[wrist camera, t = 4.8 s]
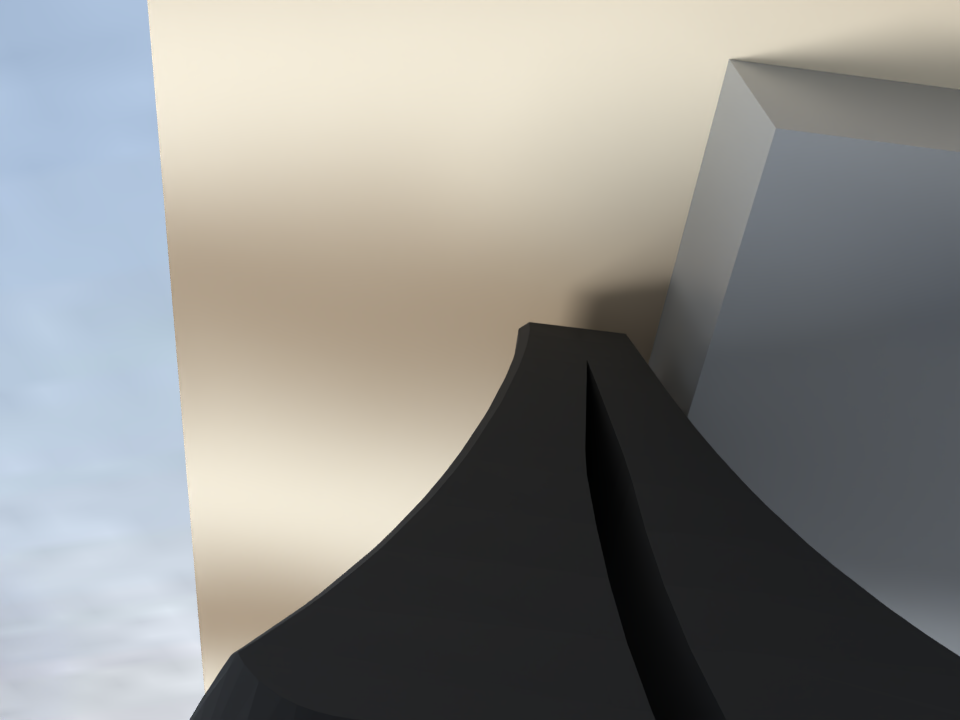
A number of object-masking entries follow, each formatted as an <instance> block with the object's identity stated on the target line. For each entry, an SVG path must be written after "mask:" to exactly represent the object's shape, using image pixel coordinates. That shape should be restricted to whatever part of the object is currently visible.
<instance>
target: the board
mask: <svg viewBox="0 0 960 720" xmlns="http://www.w3.org/2000/svg"><path fill="white" fill-rule="evenodd" d="M147 2H148V14H149V26H150V38H151V50H152V62H153V74H154V86H155V98H156V110H157V122H158V134H159V146H160V158H161V170H162V182H163V194H164V206H165V218H166V231H167V243H168V255H169V267H170V279H171V291H172V303H173V315H174V327H175V339H176V351H177V363H178V375H179V387H180V399H181V411H182V423H183V435H184V447H185V459H186V472H187V484H188V496H189V508H190V520H191V532H192V544H193V556H194V568H195V580H196V592H197V604H198V616H199V628H200V640H201V652H202V664H203V676H204V688H205V693H206V692H207V690H208V689H209V687H210V686H211V684H212V683H213V681H214V680H215V678H216V676H217V675H218V673H219V672H220V670H221V669H222V667H223V666H224V664H225V663H226V661H227V660H228V659H229V657H230V656H231V654H233V653H234V652H236V651H237V650H239V649H240V648H242V647H243V646H245V645H246V644H248V643H249V642H251V641H252V640H254V639H255V638H257V637H258V636H260V635H261V634H263V633H264V632H265V631H267V630H268V629H270V628H271V627H273V626H274V625H276V624H277V623H279V622H280V621H282V620H283V619H285V618H286V617H288V616H289V615H290V614H292V613H293V612H295V611H296V610H298V609H299V608H301V607H302V606H304V605H305V604H306V603H308V602H309V601H310V600H312V599H313V598H314V597H316V596H317V595H318V594H320V593H321V592H322V591H323V590H324V589H326V588H327V587H328V586H329V585H330V584H332V583H333V582H334V581H335V580H336V579H338V578H339V577H340V576H341V575H342V574H344V573H345V572H346V571H347V570H348V569H350V568H351V567H352V566H353V565H354V564H356V563H357V562H358V561H359V560H360V559H362V558H363V557H364V556H365V555H366V554H368V553H369V552H370V551H371V550H372V549H373V548H374V547H376V546H377V545H378V544H379V543H380V542H381V541H382V540H383V539H384V538H385V537H386V536H387V535H388V534H389V533H390V532H391V531H392V530H393V529H394V528H395V527H396V526H397V525H398V524H399V523H400V522H401V521H402V520H403V519H404V518H405V517H406V516H407V515H408V514H409V513H410V512H411V511H412V510H413V509H414V507H415V506H416V505H417V504H418V503H419V502H420V501H421V500H422V499H423V498H424V497H425V496H426V494H427V493H428V492H429V491H430V490H431V488H432V487H433V486H434V485H435V484H436V483H437V481H438V480H439V479H440V478H441V477H442V475H443V474H444V473H445V472H446V470H447V469H448V468H449V467H450V465H451V464H452V463H453V461H454V460H455V459H456V457H457V456H458V455H459V453H460V452H461V450H462V449H463V447H464V446H465V444H466V443H467V441H468V440H469V438H470V437H471V435H472V434H473V432H474V431H475V429H476V428H477V426H478V425H479V423H480V422H481V420H482V419H483V417H484V416H485V414H486V412H487V411H488V409H489V407H490V405H491V403H492V402H493V400H494V398H495V396H496V394H497V392H498V390H499V388H500V386H501V385H502V383H503V381H504V379H505V377H506V374H507V372H508V370H509V367H510V365H511V363H512V360H513V357H514V354H515V348H516V342H517V336H518V330H519V328H521V327H522V326H524V325H525V324H527V323H528V322H533V323H542V324H550V325H558V326H566V327H575V328H583V329H591V330H599V331H608V332H616V333H624V334H626V335H627V336H628V337H629V339H630V340H631V342H632V343H633V344H634V346H635V347H636V348H637V350H638V351H639V353H640V354H641V355H642V357H643V358H644V359H645V361H646V362H647V364H648V363H649V359H650V356H651V352H652V348H653V344H654V340H655V337H656V333H657V329H658V325H659V322H660V318H661V314H662V310H663V306H664V303H665V299H666V295H667V291H668V288H669V284H670V280H671V276H672V273H673V269H674V265H675V261H676V257H677V254H678V250H679V246H680V242H681V239H682V235H683V231H684V227H685V223H686V220H687V216H688V212H689V208H690V205H691V201H692V197H693V193H694V189H695V186H696V182H697V178H698V174H699V171H700V167H701V163H702V159H703V156H704V152H705V148H706V144H707V140H708V137H709V133H710V129H711V125H712V122H713V118H714V114H715V110H716V106H717V103H718V99H719V95H720V91H721V88H722V84H723V80H724V76H725V72H726V69H727V65H728V61H729V59H732V60H740V61H748V62H755V63H763V64H770V65H778V66H786V67H793V68H801V69H808V70H816V71H824V72H831V73H839V74H846V75H854V76H862V77H869V78H877V79H884V80H892V81H900V82H907V83H915V84H922V85H930V86H938V87H945V88H953V89H960V0H147Z"/></svg>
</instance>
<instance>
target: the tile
mask: <svg viewBox="0 0 960 720" xmlns="http://www.w3.org/2000/svg"><path fill="white" fill-rule="evenodd" d="M648 365H649V366H650V368H651V369H652V371H653V372H654V373H655V375H656V376H657V378H658V379H659V380H660V382H661V383H662V384H663V386H664V387H665V389H666V390H667V391H668V393H669V394H670V395H671V397H672V398H673V399H674V401H675V402H676V403H677V405H678V406H679V407H680V409H681V410H682V411H683V413H684V414H685V415H686V416H687V418H688V419H689V420H690V421H691V423H692V424H693V425H694V426H695V428H696V429H697V430H698V431H699V432H700V434H701V435H702V436H703V437H704V438H705V440H706V441H707V442H708V443H709V444H710V445H711V447H712V448H713V449H714V450H715V451H716V452H717V454H718V455H719V456H720V457H721V458H722V459H723V460H724V461H725V462H726V463H727V465H728V466H729V467H730V468H731V469H732V470H733V471H734V472H735V473H736V474H737V475H738V477H739V478H740V479H741V480H742V481H743V482H744V483H745V484H746V485H747V486H748V487H749V488H750V489H751V490H752V491H753V492H754V493H755V494H756V495H757V496H758V497H759V498H760V499H761V500H762V501H763V502H764V503H765V504H766V505H767V506H768V507H769V508H770V509H771V510H772V511H773V512H774V513H775V514H776V515H777V516H778V517H780V518H781V519H782V520H783V521H784V522H785V523H786V524H787V525H788V526H789V527H790V528H792V529H793V530H794V531H795V532H796V533H797V534H798V535H799V536H800V537H801V538H802V539H803V540H805V541H806V542H807V543H808V544H809V545H810V546H811V547H812V548H814V549H815V550H816V551H817V552H818V553H820V554H821V555H822V556H823V557H824V558H826V559H827V560H828V561H829V562H830V563H832V564H833V565H834V566H835V567H836V568H838V569H839V570H840V571H842V572H843V573H844V574H845V575H847V576H848V577H849V578H851V579H852V580H853V581H854V582H856V583H857V584H858V585H860V586H861V587H862V588H864V589H865V590H866V591H867V592H869V593H870V594H871V595H873V596H874V597H875V598H876V599H878V600H879V601H880V602H882V603H883V604H884V605H886V606H887V607H888V608H890V609H891V610H892V611H894V612H895V613H897V614H898V615H900V616H901V617H902V618H904V619H905V620H907V621H908V622H909V623H911V624H912V625H914V626H915V627H916V628H918V629H919V630H921V631H922V632H924V633H925V634H926V635H928V636H930V637H931V638H933V639H934V640H936V641H937V642H939V643H940V644H942V645H943V646H945V647H946V648H948V649H949V650H951V651H952V652H954V653H955V654H957V655H958V656H960V89H953V88H945V87H938V86H930V85H922V84H915V83H907V82H900V81H892V80H884V79H877V78H869V77H862V76H854V75H846V74H839V73H831V72H824V71H816V70H808V69H801V68H793V67H786V66H778V65H770V64H763V63H755V62H748V61H740V60H732V59H729V61H728V65H727V69H726V72H725V76H724V80H723V84H722V88H721V91H720V95H719V99H718V103H717V106H716V110H715V114H714V118H713V122H712V125H711V129H710V133H709V137H708V140H707V144H706V148H705V152H704V156H703V159H702V163H701V167H700V171H699V174H698V178H697V182H696V186H695V189H694V193H693V197H692V201H691V205H690V208H689V212H688V216H687V220H686V223H685V227H684V231H683V235H682V239H681V242H680V246H679V250H678V254H677V257H676V261H675V265H674V269H673V273H672V276H671V280H670V284H669V288H668V291H667V295H666V299H665V303H664V306H663V310H662V314H661V318H660V322H659V325H658V329H657V333H656V337H655V340H654V344H653V348H652V352H651V356H650V359H649V363H648Z"/></svg>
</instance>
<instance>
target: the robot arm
mask: <svg viewBox="0 0 960 720" xmlns="http://www.w3.org/2000/svg"><path fill="white" fill-rule="evenodd" d="M190 720H960V656H958V655H957V654H955V653H954V652H952V651H951V650H949V649H948V648H946V647H945V646H943V645H942V644H940V643H939V642H937V641H936V640H934V639H933V638H931V637H930V636H928V635H926V634H925V633H924V632H922V631H921V630H919V629H918V628H916V627H915V626H914V625H912V624H911V623H909V622H908V621H907V620H905V619H904V618H902V617H901V616H900V615H898V614H897V613H895V612H894V611H892V610H891V609H890V608H888V607H887V606H886V605H884V604H883V603H882V602H880V601H879V600H878V599H876V598H875V597H874V596H873V595H871V594H870V593H869V592H867V591H866V590H865V589H864V588H862V587H861V586H860V585H858V584H857V583H856V582H854V581H853V580H852V579H851V578H849V577H848V576H847V575H845V574H844V573H843V572H842V571H840V570H839V569H838V568H836V567H835V566H834V565H833V564H832V563H830V562H829V561H828V560H827V559H826V558H824V557H823V556H822V555H821V554H820V553H818V552H817V551H816V550H815V549H814V548H812V547H811V546H810V545H809V544H808V543H807V542H806V541H805V540H803V539H802V538H801V537H800V536H799V535H798V534H797V533H796V532H795V531H794V530H793V529H792V528H790V527H789V526H788V525H787V524H786V523H785V522H784V521H783V520H782V519H781V518H780V517H778V516H777V515H776V514H775V513H774V512H773V511H772V510H771V509H770V508H769V507H768V506H767V505H766V504H765V503H764V502H763V501H762V500H761V499H760V498H759V497H758V496H757V495H756V494H755V493H754V492H753V491H752V490H751V489H750V488H749V487H748V486H747V485H746V484H745V483H744V482H743V481H742V480H741V479H740V478H739V477H738V475H737V474H736V473H735V472H734V471H733V470H732V469H731V468H730V467H729V466H728V465H727V463H726V462H725V461H724V460H723V459H722V458H721V457H720V456H719V455H718V454H717V452H716V451H715V450H714V449H713V448H712V447H711V445H710V444H709V443H708V442H707V441H706V440H705V438H704V437H703V436H702V435H701V434H700V432H699V431H698V430H697V429H696V428H695V426H694V425H693V424H692V423H691V421H690V420H689V419H688V418H687V416H686V415H685V414H684V413H683V411H682V410H681V409H680V407H679V406H678V405H677V403H676V402H675V401H674V399H673V398H672V397H671V395H670V394H669V393H668V391H667V390H666V389H665V387H664V386H663V384H662V383H661V382H660V380H659V379H658V378H657V376H656V375H655V373H654V372H653V371H652V369H651V368H650V366H649V365H648V364H647V362H646V361H645V359H644V358H643V357H642V355H641V354H640V353H639V351H638V350H637V348H636V347H635V346H634V344H633V343H632V342H631V340H630V339H629V337H628V336H627V335H626V334H624V333H616V332H608V331H599V330H591V329H583V328H575V327H566V326H558V325H550V324H542V323H533V322H528V323H527V324H525V325H524V326H522V327H521V328H519V330H518V336H517V342H516V348H515V354H514V357H513V360H512V363H511V365H510V367H509V370H508V372H507V374H506V377H505V379H504V381H503V383H502V385H501V386H500V388H499V390H498V392H497V394H496V396H495V398H494V400H493V402H492V403H491V405H490V407H489V409H488V411H487V412H486V414H485V416H484V417H483V419H482V420H481V422H480V423H479V425H478V426H477V428H476V429H475V431H474V432H473V434H472V435H471V437H470V438H469V440H468V441H467V443H466V444H465V446H464V447H463V449H462V450H461V452H460V453H459V455H458V456H457V457H456V459H455V460H454V461H453V463H452V464H451V465H450V467H449V468H448V469H447V470H446V472H445V473H444V474H443V475H442V477H441V478H440V479H439V480H438V481H437V483H436V484H435V485H434V486H433V487H432V488H431V490H430V491H429V492H428V493H427V494H426V496H425V497H424V498H423V499H422V500H421V501H420V502H419V503H418V504H417V505H416V506H415V507H414V509H413V510H412V511H411V512H410V513H409V514H408V515H407V516H406V517H405V518H404V519H403V520H402V521H401V522H400V523H399V524H398V525H397V526H396V527H395V528H394V529H393V530H392V531H391V532H390V533H389V534H388V535H387V536H386V537H385V538H384V539H383V540H382V541H381V542H380V543H379V544H378V545H377V546H376V547H374V548H373V549H372V550H371V551H370V552H369V553H368V554H366V555H365V556H364V557H363V558H362V559H360V560H359V561H358V562H357V563H356V564H354V565H353V566H352V567H351V568H350V569H348V570H347V571H346V572H345V573H344V574H342V575H341V576H340V577H339V578H338V579H336V580H335V581H334V582H333V583H332V584H330V585H329V586H328V587H327V588H326V589H324V590H323V591H322V592H321V593H320V594H318V595H317V596H316V597H314V598H313V599H312V600H310V601H309V602H308V603H306V604H305V605H304V606H302V607H301V608H299V609H298V610H296V611H295V612H293V613H292V614H290V615H289V616H288V617H286V618H285V619H283V620H282V621H280V622H279V623H277V624H276V625H274V626H273V627H271V628H270V629H268V630H267V631H265V632H264V633H263V634H261V635H260V636H258V637H257V638H255V639H254V640H252V641H251V642H249V643H248V644H246V645H245V646H243V647H242V648H240V649H239V650H237V651H236V652H234V653H233V654H231V656H230V657H229V659H228V660H227V661H226V663H225V664H224V666H223V667H222V669H221V670H220V672H219V673H218V675H217V676H216V678H215V680H214V681H213V683H212V684H211V686H210V687H209V689H208V690H207V692H206V693H205V695H204V696H203V698H202V700H201V701H200V703H199V705H198V706H197V708H196V710H195V712H194V713H193V715H192V717H191V718H190Z"/></svg>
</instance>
